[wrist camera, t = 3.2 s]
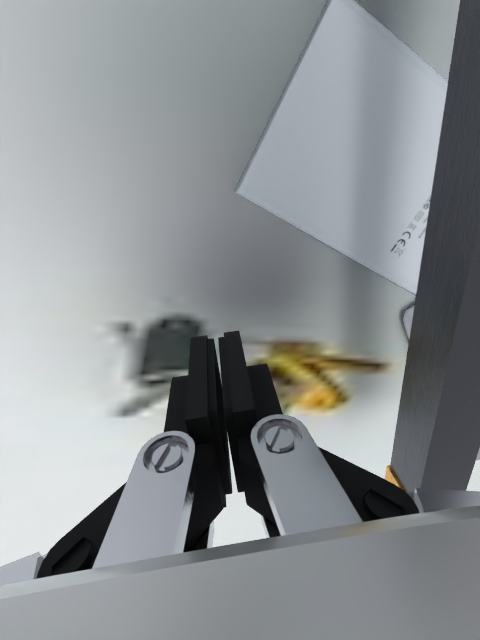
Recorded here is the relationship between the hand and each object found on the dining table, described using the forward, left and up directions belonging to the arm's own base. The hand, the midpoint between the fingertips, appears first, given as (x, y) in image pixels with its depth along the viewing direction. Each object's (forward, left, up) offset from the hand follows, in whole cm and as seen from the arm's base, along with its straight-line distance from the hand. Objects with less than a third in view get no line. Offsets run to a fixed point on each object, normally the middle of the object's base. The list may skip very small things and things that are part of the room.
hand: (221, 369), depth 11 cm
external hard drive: (-5, +9, -8) cm, 13 cm away
